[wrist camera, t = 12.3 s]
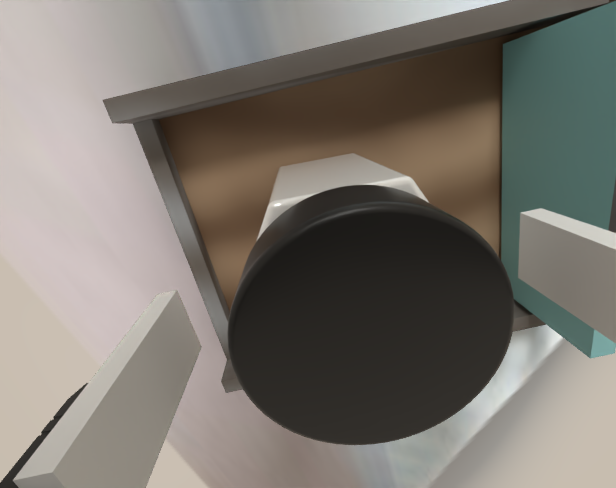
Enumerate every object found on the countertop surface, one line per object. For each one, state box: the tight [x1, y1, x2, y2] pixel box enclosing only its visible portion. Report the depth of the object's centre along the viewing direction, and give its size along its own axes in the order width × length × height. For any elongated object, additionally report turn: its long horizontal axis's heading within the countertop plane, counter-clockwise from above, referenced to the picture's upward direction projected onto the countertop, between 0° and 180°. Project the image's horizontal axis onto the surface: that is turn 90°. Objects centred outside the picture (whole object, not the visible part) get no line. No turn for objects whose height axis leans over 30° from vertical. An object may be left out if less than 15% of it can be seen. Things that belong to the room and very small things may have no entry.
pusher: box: [501, 1, 616, 358], centre depth 15 cm, size 15×2×8 cm, turn 13°
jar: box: [228, 153, 514, 445], centre depth 14 cm, size 9×8×12 cm
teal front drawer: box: [103, 0, 616, 393], centre depth 17 cm, size 18×24×8 cm
